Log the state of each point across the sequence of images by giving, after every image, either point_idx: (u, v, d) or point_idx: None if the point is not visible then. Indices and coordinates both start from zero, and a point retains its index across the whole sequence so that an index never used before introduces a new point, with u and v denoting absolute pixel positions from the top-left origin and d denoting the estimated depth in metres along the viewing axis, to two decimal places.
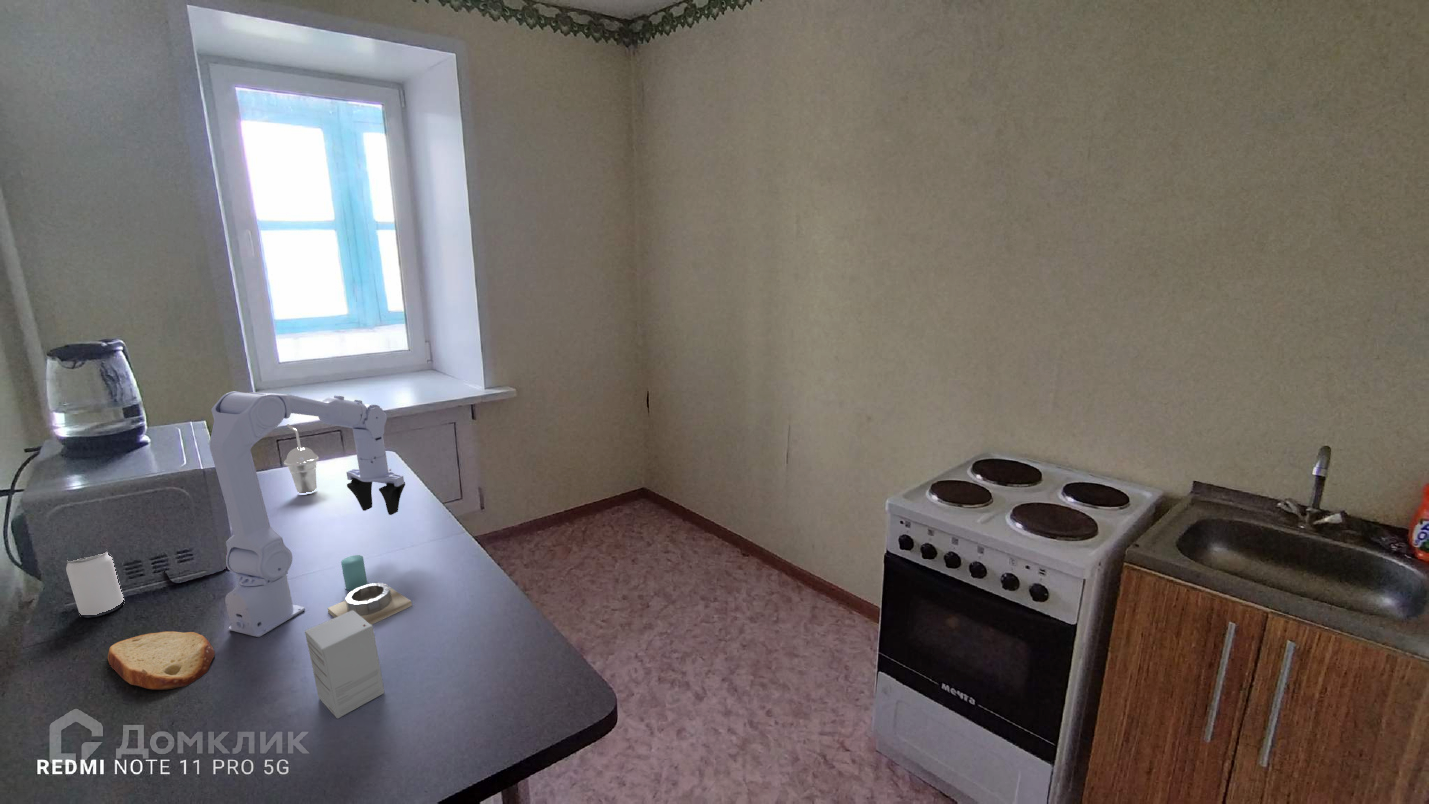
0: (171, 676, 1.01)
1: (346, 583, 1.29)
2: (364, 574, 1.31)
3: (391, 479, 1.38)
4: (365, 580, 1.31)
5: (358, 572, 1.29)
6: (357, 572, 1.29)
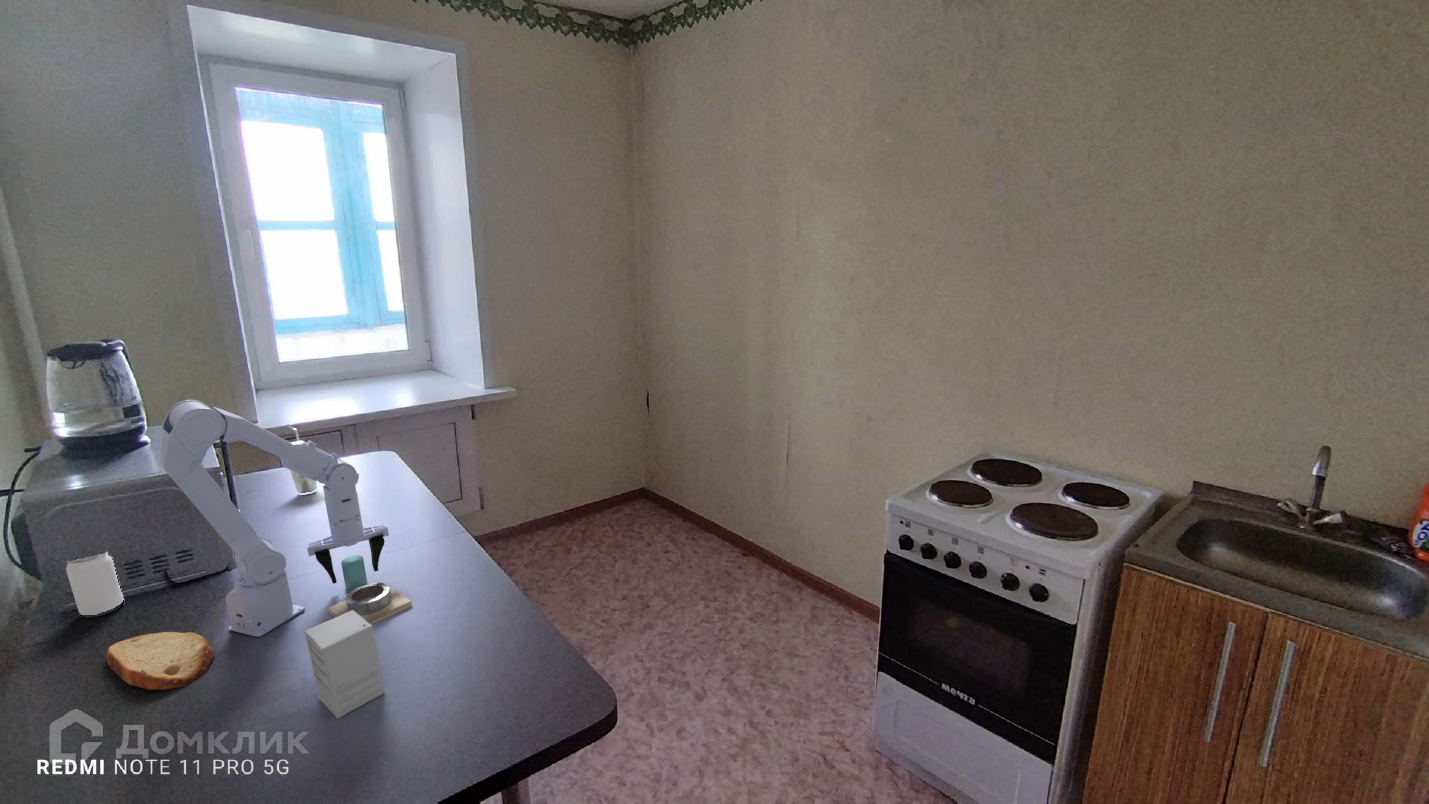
0: (170, 676, 1.01)
1: (346, 583, 1.29)
2: (364, 574, 1.31)
3: None
4: (365, 580, 1.31)
5: (357, 572, 1.29)
6: (357, 572, 1.29)
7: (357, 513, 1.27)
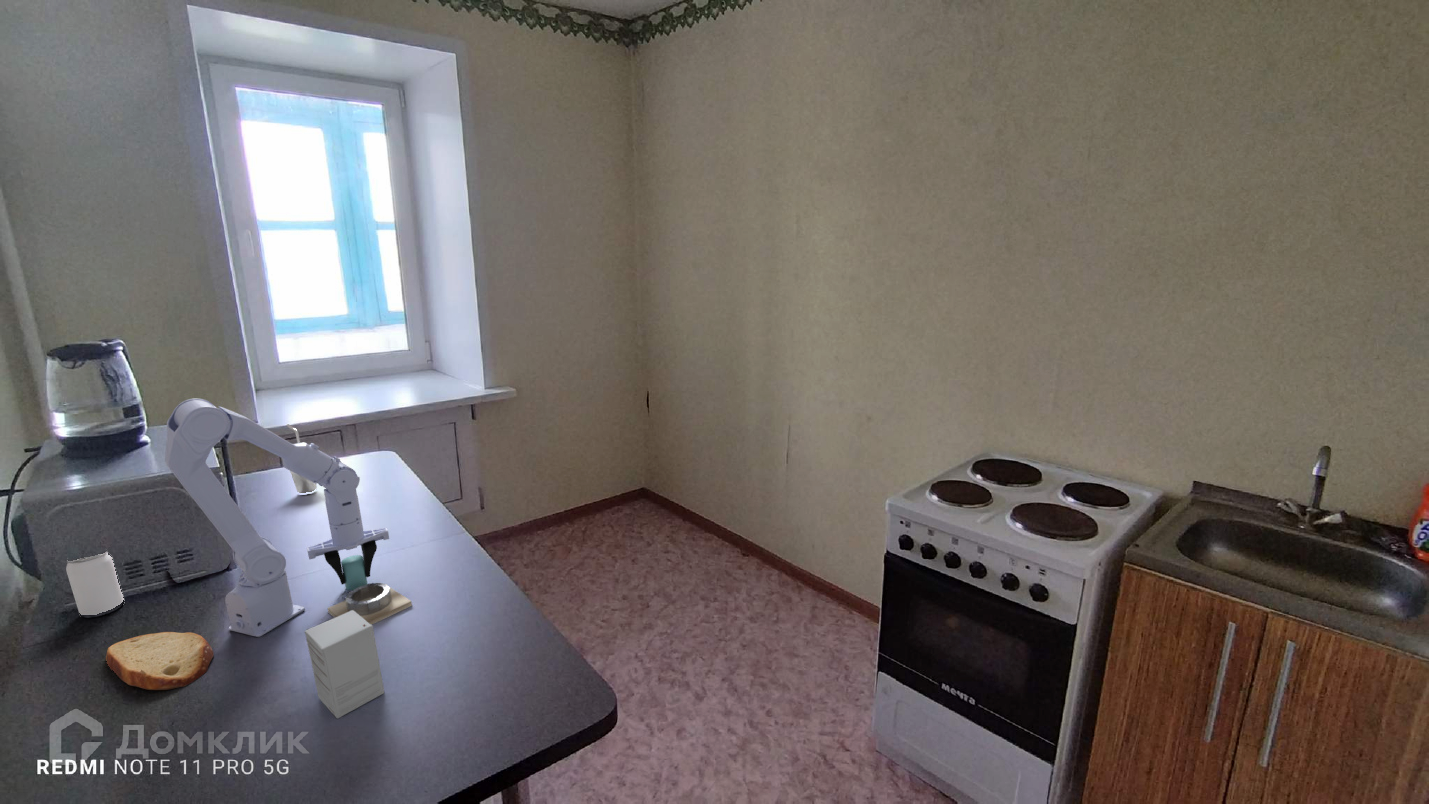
0: (170, 676, 1.01)
1: (346, 583, 1.29)
2: (364, 573, 1.31)
3: None
4: (365, 580, 1.31)
5: (358, 572, 1.29)
6: (357, 572, 1.29)
7: (358, 516, 1.27)
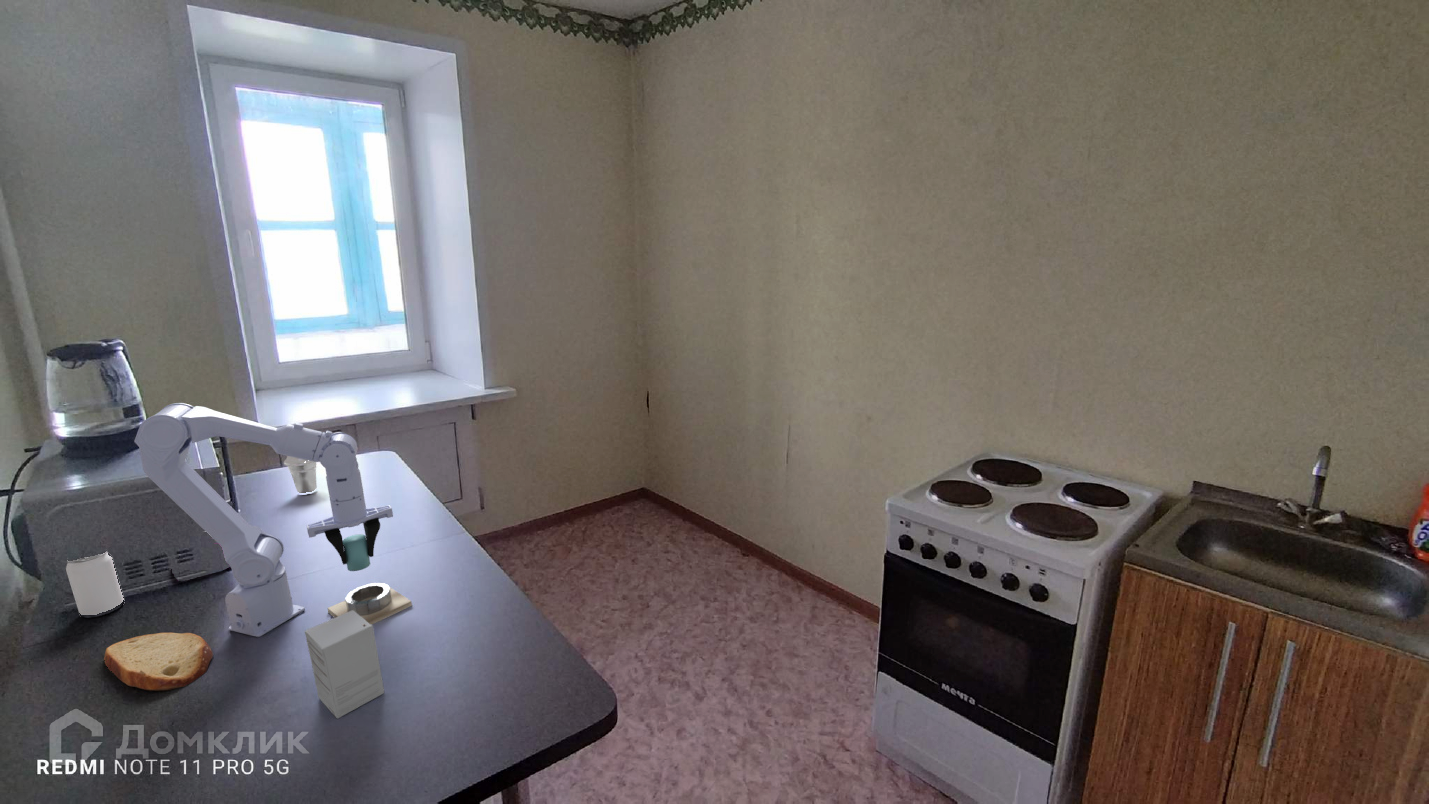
0: (169, 677, 1.01)
1: (348, 563, 1.22)
2: (367, 553, 1.24)
3: None
4: (368, 560, 1.24)
5: (360, 551, 1.22)
6: (360, 551, 1.22)
7: (355, 495, 1.19)
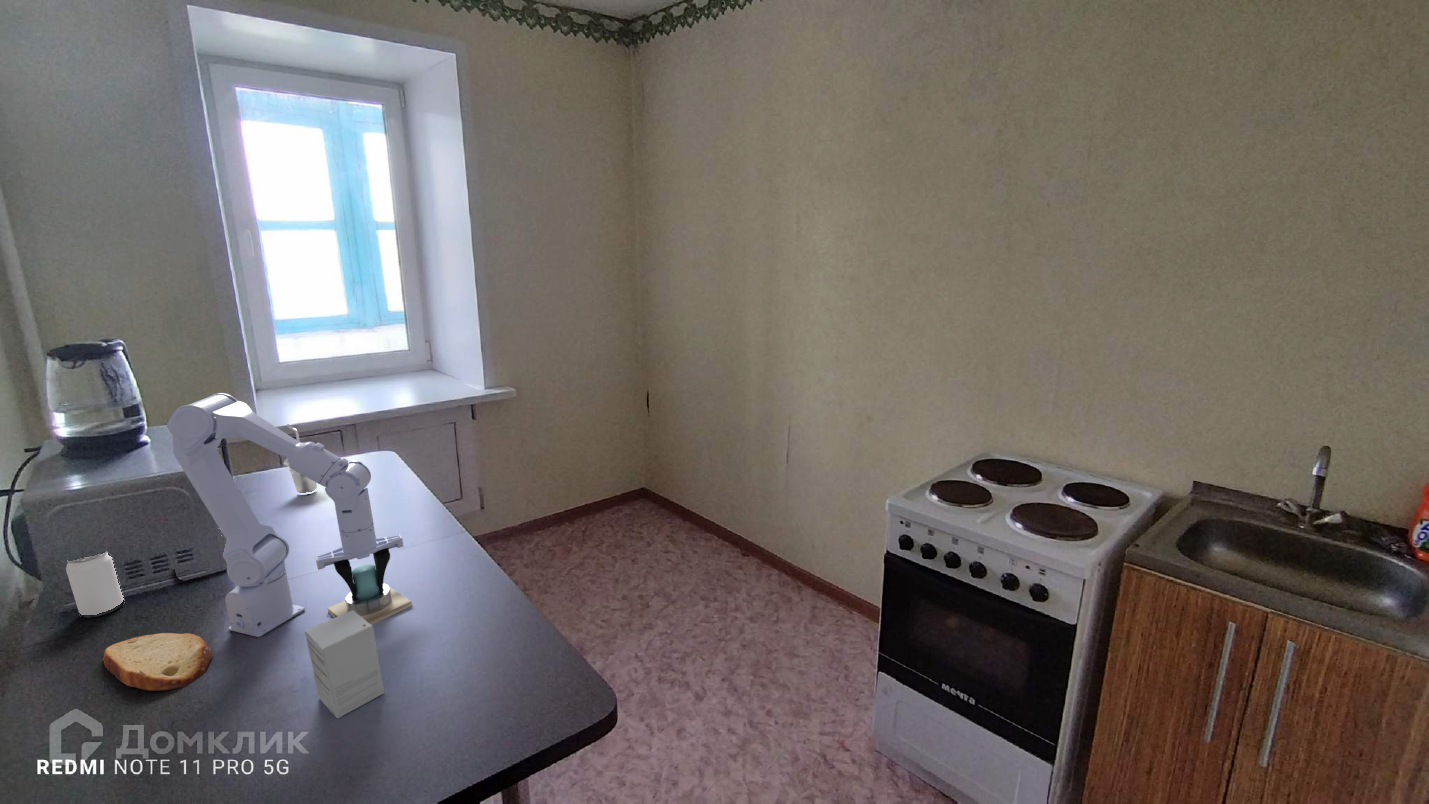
0: (169, 677, 1.01)
1: (357, 595, 1.20)
2: (377, 584, 1.22)
3: None
4: (378, 591, 1.22)
5: (370, 582, 1.20)
6: (369, 583, 1.20)
7: (361, 527, 1.16)
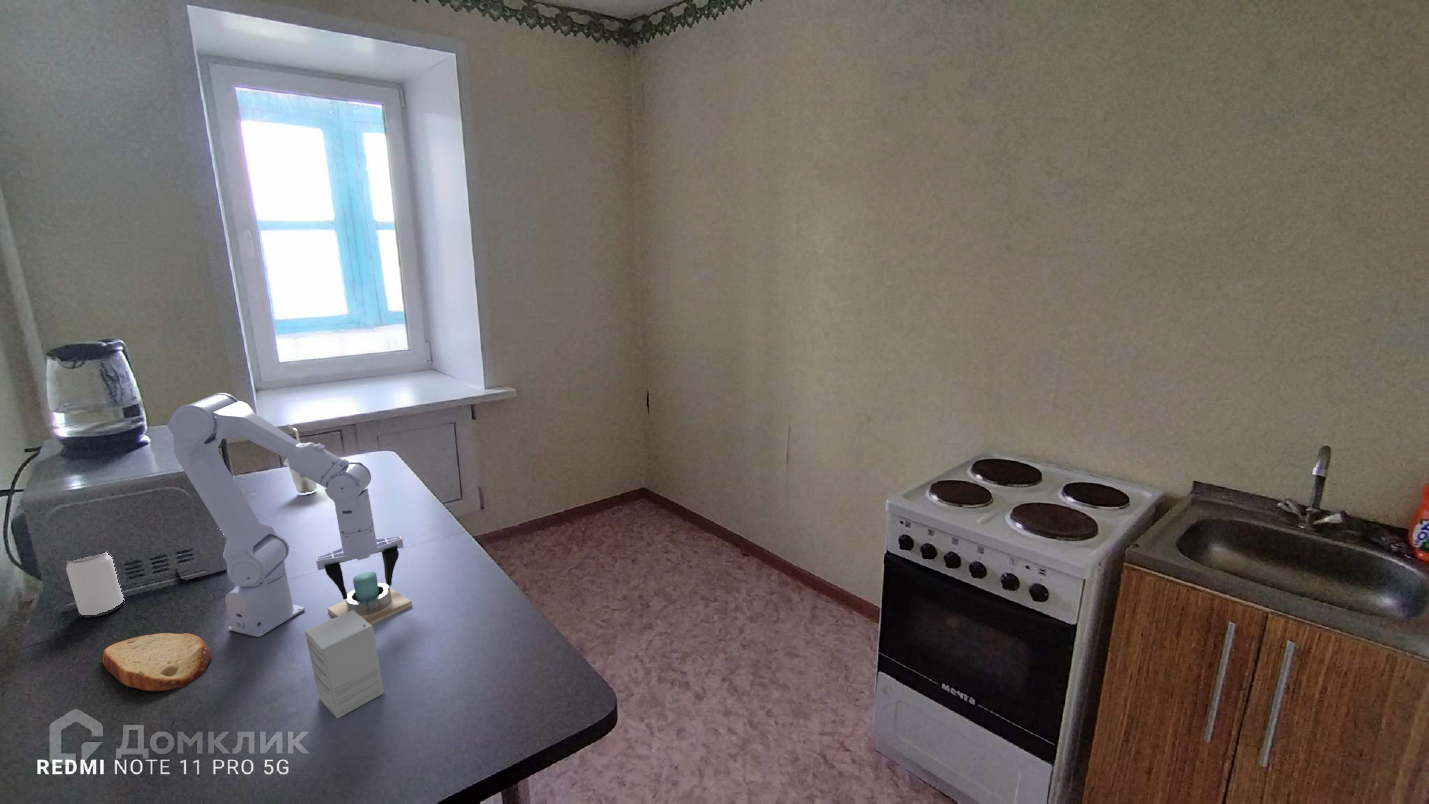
0: (168, 677, 1.01)
1: None
2: (378, 591, 1.22)
3: None
4: None
5: (371, 590, 1.20)
6: (370, 590, 1.20)
7: (361, 528, 1.16)
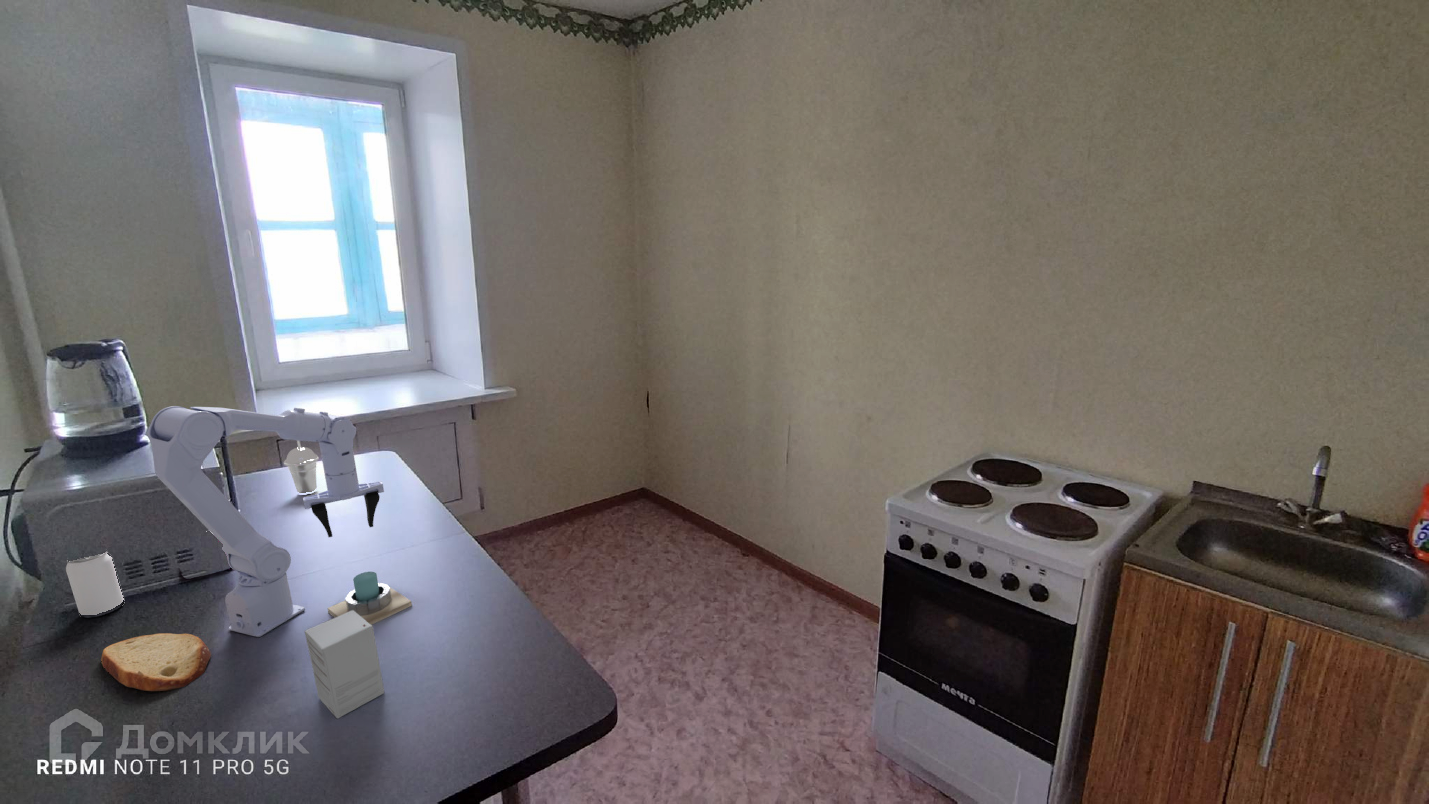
0: (168, 677, 1.01)
1: None
2: (378, 591, 1.22)
3: None
4: None
5: (371, 590, 1.20)
6: (371, 590, 1.20)
7: (354, 467, 1.30)
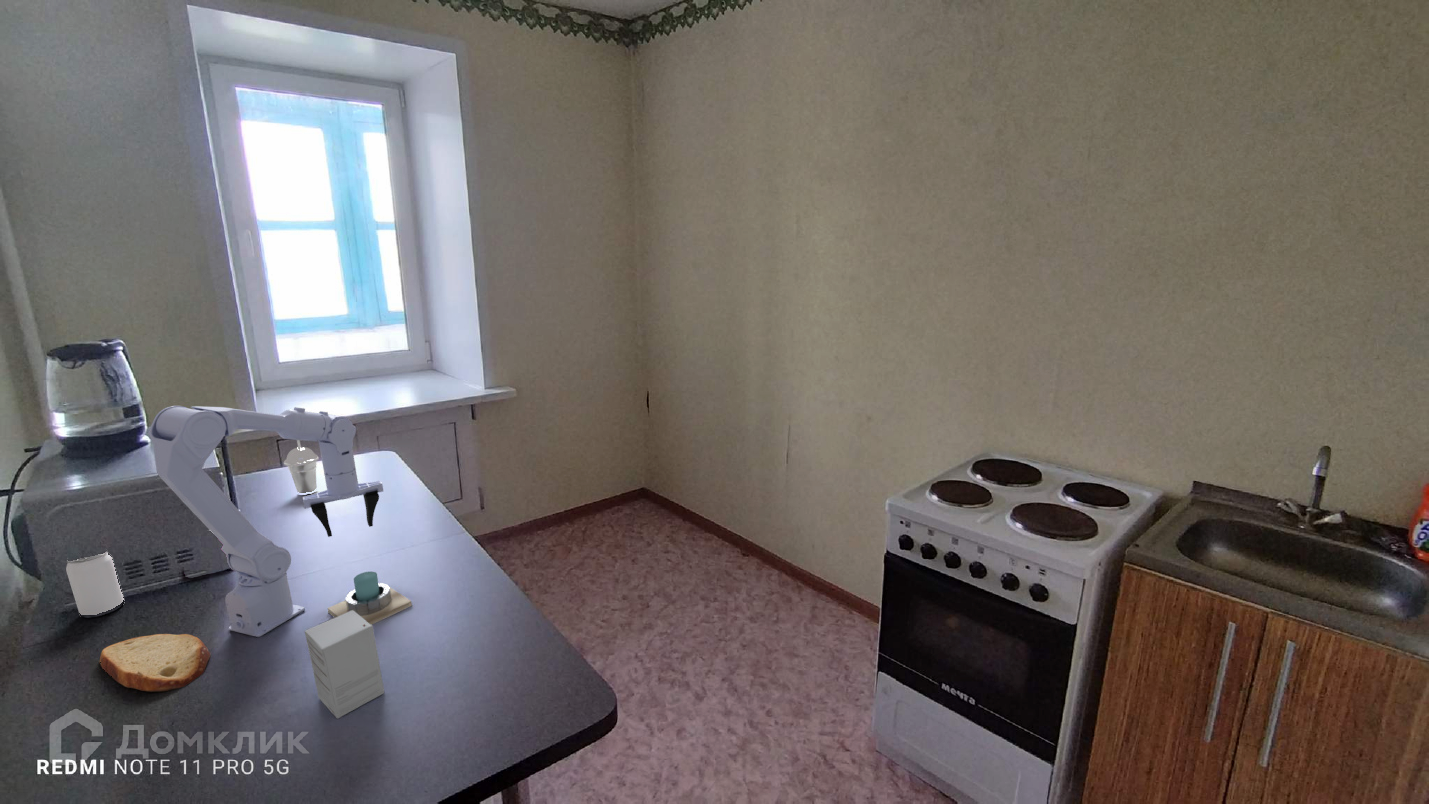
0: (167, 678, 1.01)
1: None
2: (378, 591, 1.22)
3: None
4: None
5: (372, 590, 1.20)
6: (372, 590, 1.20)
7: (354, 466, 1.30)
